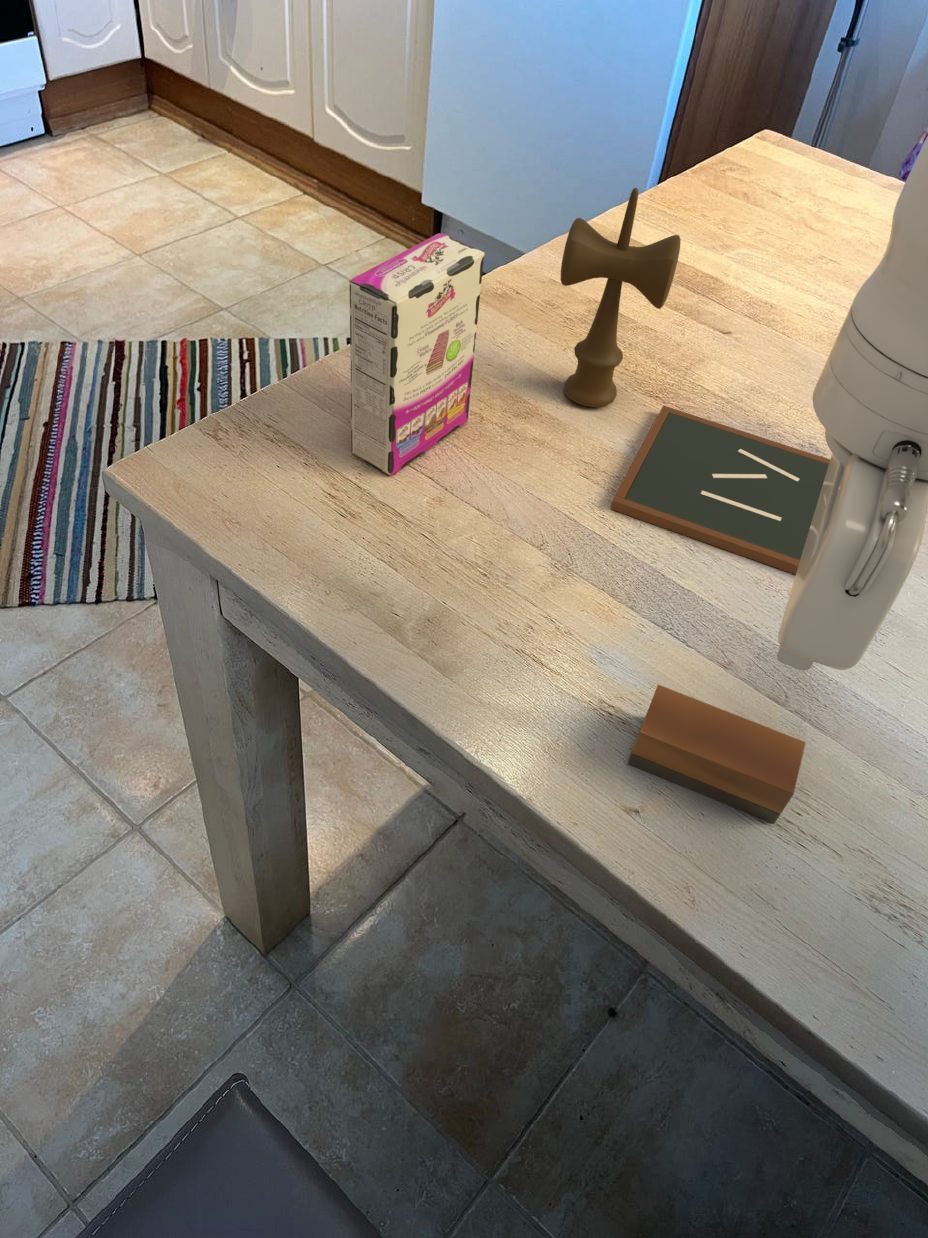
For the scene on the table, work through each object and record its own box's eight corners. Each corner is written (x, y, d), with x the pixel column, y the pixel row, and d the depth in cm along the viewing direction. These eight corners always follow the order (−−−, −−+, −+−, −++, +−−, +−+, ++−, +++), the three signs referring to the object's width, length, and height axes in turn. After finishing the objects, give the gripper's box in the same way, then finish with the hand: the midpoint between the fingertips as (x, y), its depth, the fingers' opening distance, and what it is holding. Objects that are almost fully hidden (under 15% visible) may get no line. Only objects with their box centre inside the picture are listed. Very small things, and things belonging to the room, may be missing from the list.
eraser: (645, 716, 66) (658, 684, 63) (786, 772, 64) (806, 741, 61) (626, 763, 63) (639, 731, 60) (774, 824, 61) (793, 794, 58)
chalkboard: (869, 482, 87) (874, 472, 86) (844, 592, 76) (849, 583, 75) (660, 413, 91) (663, 404, 90) (610, 509, 80) (612, 499, 80)
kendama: (634, 424, 89) (691, 214, 74) (534, 401, 90) (571, 190, 75) (641, 390, 93) (697, 185, 78) (546, 369, 94) (584, 162, 79)
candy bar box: (426, 400, 88) (439, 229, 76) (469, 423, 87) (489, 251, 75) (345, 453, 82) (346, 275, 70) (389, 479, 80) (398, 301, 68)
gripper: (979, 555, 36) (835, 761, 46) (1003, 315, 49) (887, 516, 59) (813, 497, 37) (709, 710, 47) (880, 279, 50) (788, 482, 60)
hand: (808, 600), depth 53 cm, fingers open, 8 cm apart
